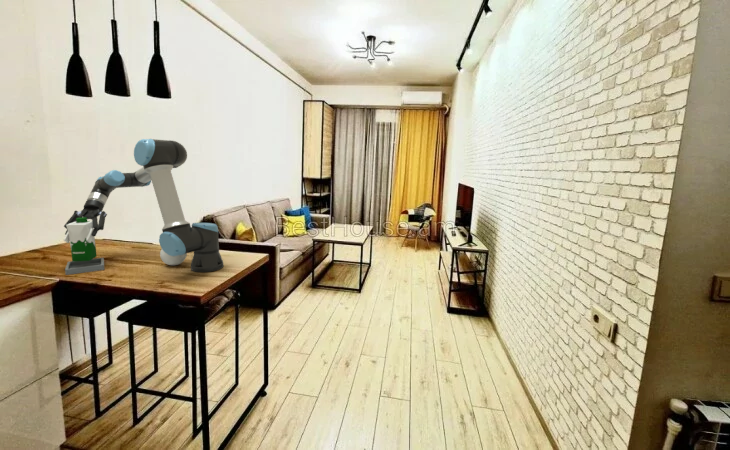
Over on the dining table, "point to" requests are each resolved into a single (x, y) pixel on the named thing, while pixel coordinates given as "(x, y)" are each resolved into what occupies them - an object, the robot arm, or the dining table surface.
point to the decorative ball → (172, 258)
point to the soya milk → (81, 240)
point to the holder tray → (84, 266)
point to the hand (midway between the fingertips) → (77, 241)
